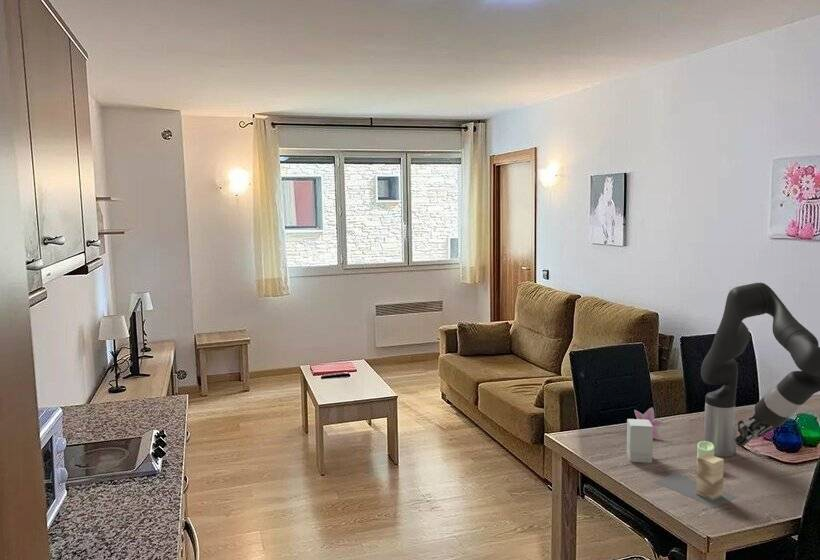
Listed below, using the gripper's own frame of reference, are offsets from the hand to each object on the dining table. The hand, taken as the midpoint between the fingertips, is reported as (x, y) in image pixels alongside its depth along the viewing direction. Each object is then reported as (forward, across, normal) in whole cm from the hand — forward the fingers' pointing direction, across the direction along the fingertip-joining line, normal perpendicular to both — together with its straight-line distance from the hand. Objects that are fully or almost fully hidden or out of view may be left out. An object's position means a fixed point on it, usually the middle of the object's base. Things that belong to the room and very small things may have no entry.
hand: (738, 443), depth 166 cm
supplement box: (+40, -3, -20) cm, 44 cm away
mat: (+24, -1, +1) cm, 24 cm away
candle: (+30, -17, -9) cm, 35 cm away
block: (+21, -2, +4) cm, 21 cm away
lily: (+47, -19, -33) cm, 61 cm away
